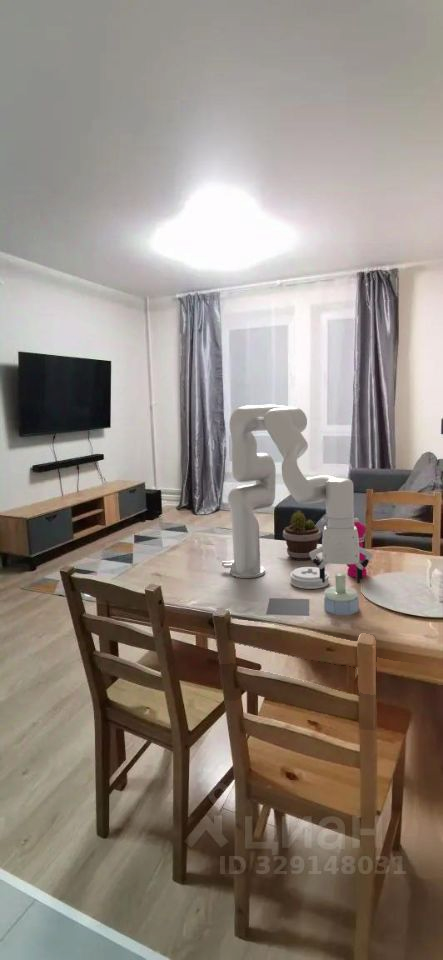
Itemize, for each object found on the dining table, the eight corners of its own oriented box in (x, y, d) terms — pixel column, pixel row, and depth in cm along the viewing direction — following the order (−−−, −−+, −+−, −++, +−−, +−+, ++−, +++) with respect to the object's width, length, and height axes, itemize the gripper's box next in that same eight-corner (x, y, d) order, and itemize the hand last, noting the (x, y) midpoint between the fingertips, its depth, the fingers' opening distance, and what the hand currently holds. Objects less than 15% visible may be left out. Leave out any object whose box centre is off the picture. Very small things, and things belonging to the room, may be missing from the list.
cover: (325, 601, 135) (324, 580, 135) (323, 589, 144) (323, 569, 143) (358, 602, 134) (358, 580, 133) (355, 590, 143) (355, 569, 142)
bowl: (324, 615, 136) (324, 601, 135) (324, 602, 145) (323, 589, 144) (359, 616, 134) (359, 602, 134) (356, 603, 143) (356, 590, 143)
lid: (282, 585, 161) (282, 571, 160) (305, 575, 170) (305, 561, 169) (314, 594, 152) (313, 579, 151) (336, 583, 161) (336, 568, 160)
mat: (266, 615, 138) (266, 614, 138) (269, 599, 149) (269, 598, 149) (309, 616, 135) (309, 615, 135) (309, 600, 147) (309, 599, 147)
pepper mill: (368, 578, 163) (368, 520, 160) (346, 577, 165) (346, 520, 162) (366, 571, 170) (366, 515, 167) (345, 571, 172) (345, 515, 169)
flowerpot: (293, 549, 201) (292, 502, 198) (328, 554, 192) (327, 504, 189) (275, 559, 189) (274, 508, 186) (312, 564, 180) (311, 511, 177)
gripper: (308, 525, 134) (309, 585, 136) (373, 525, 131) (373, 586, 133) (308, 519, 141) (309, 576, 144) (370, 519, 138) (370, 577, 140)
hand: (340, 581), depth 138 cm, fingers open, 9 cm apart
